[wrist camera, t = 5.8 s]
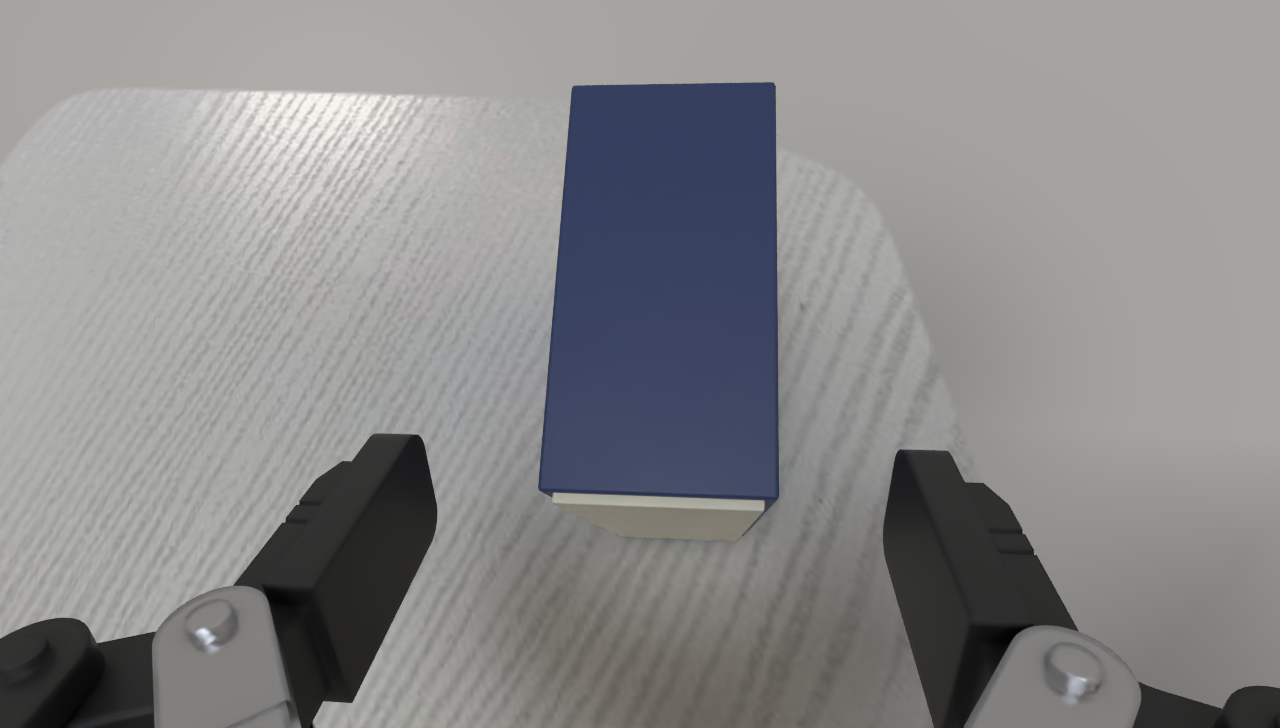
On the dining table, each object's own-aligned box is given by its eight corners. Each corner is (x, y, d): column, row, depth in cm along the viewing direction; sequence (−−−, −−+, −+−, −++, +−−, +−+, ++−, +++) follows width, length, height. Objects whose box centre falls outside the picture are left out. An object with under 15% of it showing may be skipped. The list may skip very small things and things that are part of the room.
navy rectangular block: (745, 290, 27) (775, 80, 16) (744, 542, 25) (779, 511, 13) (626, 289, 28) (571, 84, 16) (613, 537, 25) (536, 501, 14)
